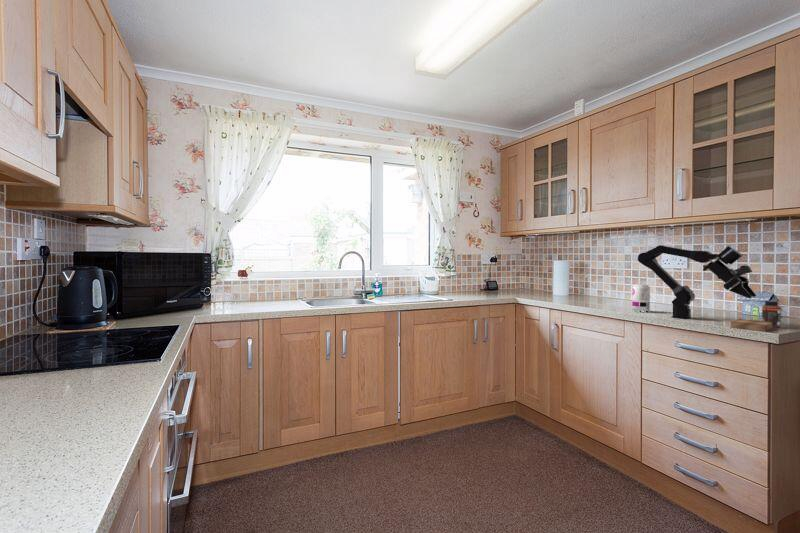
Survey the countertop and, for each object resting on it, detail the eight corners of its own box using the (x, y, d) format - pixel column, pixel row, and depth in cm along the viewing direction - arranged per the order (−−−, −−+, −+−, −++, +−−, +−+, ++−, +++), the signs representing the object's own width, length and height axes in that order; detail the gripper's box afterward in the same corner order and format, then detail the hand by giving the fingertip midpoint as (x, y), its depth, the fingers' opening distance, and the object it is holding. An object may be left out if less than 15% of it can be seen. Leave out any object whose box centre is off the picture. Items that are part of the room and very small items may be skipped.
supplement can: (630, 311, 220) (631, 284, 219) (634, 310, 226) (634, 283, 226) (647, 312, 214) (648, 285, 214) (650, 311, 221) (651, 284, 220)
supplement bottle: (784, 328, 169) (784, 301, 168) (767, 327, 170) (768, 301, 170) (774, 326, 174) (774, 300, 174) (758, 325, 176) (758, 300, 175)
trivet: (730, 327, 170) (731, 321, 170) (739, 325, 177) (739, 319, 177) (765, 331, 161) (765, 324, 161) (772, 328, 168) (772, 322, 168)
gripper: (733, 259, 174) (766, 285, 166) (742, 259, 186) (774, 283, 178) (710, 276, 181) (741, 303, 172) (721, 275, 193) (751, 300, 184)
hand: (753, 296), depth 177 cm, fingers open, 9 cm apart
